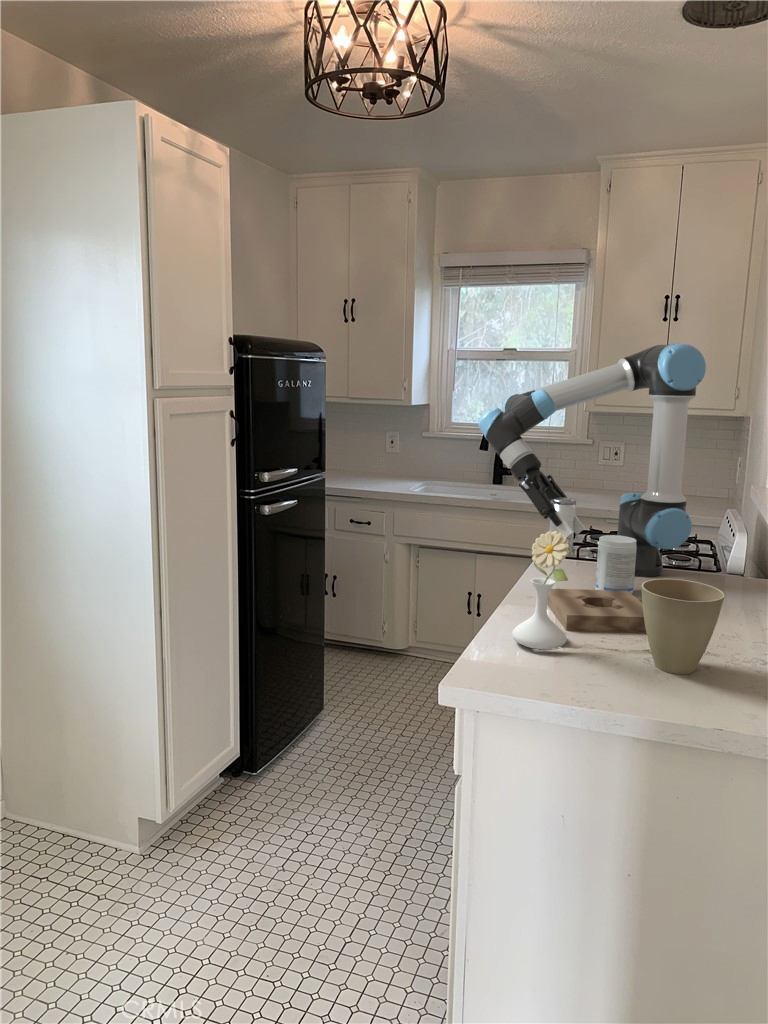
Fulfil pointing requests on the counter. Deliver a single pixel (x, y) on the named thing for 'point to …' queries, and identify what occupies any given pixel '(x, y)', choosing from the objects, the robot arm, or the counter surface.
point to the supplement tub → (616, 563)
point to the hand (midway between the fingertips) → (575, 533)
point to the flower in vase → (544, 595)
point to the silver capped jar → (565, 515)
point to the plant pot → (679, 621)
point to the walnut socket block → (597, 610)
